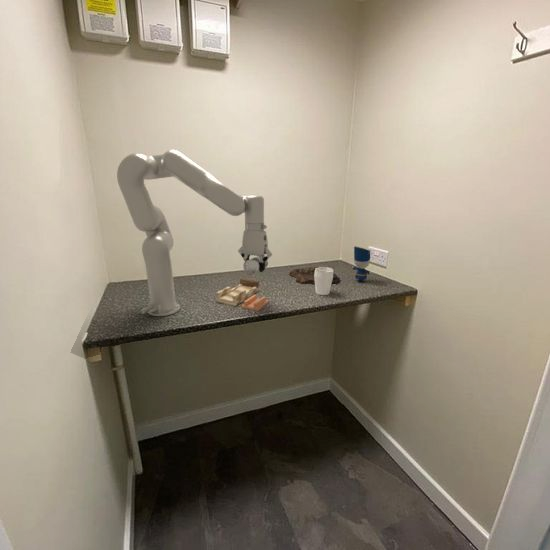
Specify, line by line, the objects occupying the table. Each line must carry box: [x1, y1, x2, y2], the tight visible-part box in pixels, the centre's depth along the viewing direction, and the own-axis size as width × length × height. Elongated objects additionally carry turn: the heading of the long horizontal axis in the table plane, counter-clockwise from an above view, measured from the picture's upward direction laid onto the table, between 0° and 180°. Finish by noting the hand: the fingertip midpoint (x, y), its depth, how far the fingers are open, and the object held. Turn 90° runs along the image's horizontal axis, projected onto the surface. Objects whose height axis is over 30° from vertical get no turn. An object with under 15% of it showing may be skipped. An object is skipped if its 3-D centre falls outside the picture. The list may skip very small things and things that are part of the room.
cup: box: [314, 266, 334, 296], centre depth 138 cm, size 9×9×12 cm
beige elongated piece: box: [215, 278, 260, 307], centre depth 133 cm, size 21×10×5 cm, turn 154°
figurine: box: [352, 246, 372, 282], centre depth 153 cm, size 13×9×20 cm
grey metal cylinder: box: [243, 256, 269, 275], centre depth 120 cm, size 10×6×6 cm, turn 152°
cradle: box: [241, 294, 270, 312], centre depth 124 cm, size 10×8×3 cm
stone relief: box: [288, 266, 341, 286], centre depth 162 cm, size 26×4×30 cm
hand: (254, 269), depth 120 cm, fingers closed on grey metal cylinder, 6 cm apart
